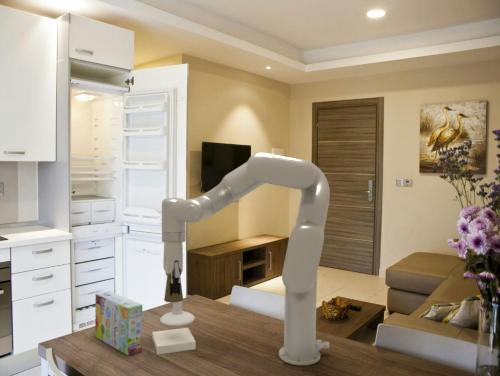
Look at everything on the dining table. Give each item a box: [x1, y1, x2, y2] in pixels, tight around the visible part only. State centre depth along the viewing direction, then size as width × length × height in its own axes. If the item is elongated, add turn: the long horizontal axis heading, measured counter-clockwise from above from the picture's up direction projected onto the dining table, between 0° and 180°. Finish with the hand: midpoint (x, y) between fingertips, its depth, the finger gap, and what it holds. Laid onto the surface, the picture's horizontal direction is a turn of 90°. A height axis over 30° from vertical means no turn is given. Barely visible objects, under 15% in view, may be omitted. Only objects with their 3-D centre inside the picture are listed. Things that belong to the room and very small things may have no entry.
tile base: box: [151, 327, 197, 355], centre depth 137 cm, size 12×12×2 cm
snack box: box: [94, 290, 143, 357], centre depth 137 cm, size 21×6×15 cm, turn 47°
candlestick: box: [159, 275, 196, 327], centre depth 158 cm, size 13×13×30 cm
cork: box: [163, 269, 184, 303], centre depth 136 cm, size 6×6×11 cm
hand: (173, 292), depth 136 cm, fingers closed on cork, 3 cm apart
